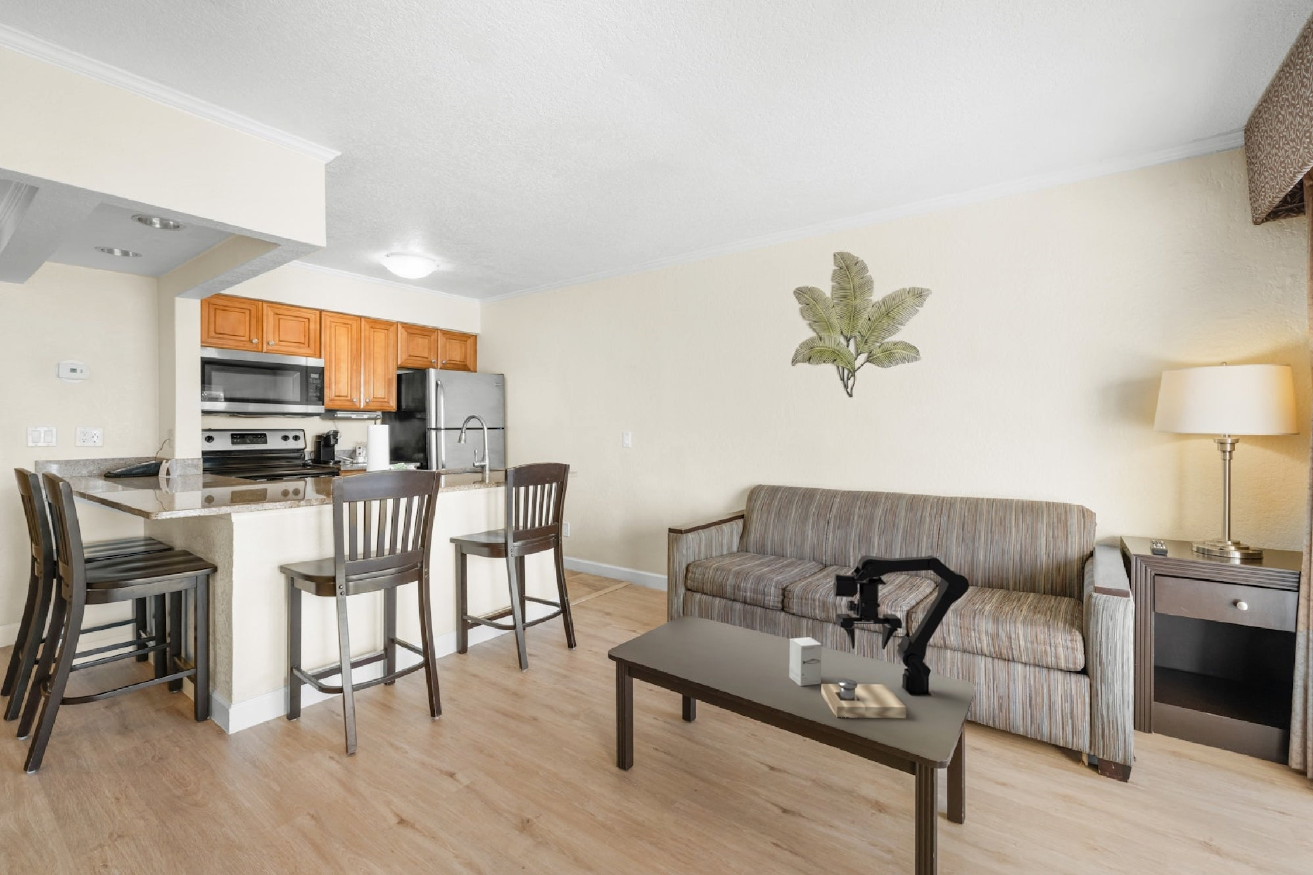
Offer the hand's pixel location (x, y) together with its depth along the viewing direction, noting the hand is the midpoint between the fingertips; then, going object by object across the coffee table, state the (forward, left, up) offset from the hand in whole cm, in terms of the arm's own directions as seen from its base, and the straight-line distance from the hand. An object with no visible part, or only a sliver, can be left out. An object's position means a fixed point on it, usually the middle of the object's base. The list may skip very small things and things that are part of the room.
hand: (868, 648), depth 182 cm
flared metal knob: (+10, +13, -12) cm, 21 cm away
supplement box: (+18, -5, -12) cm, 22 cm away
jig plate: (+6, +12, -12) cm, 18 cm away
